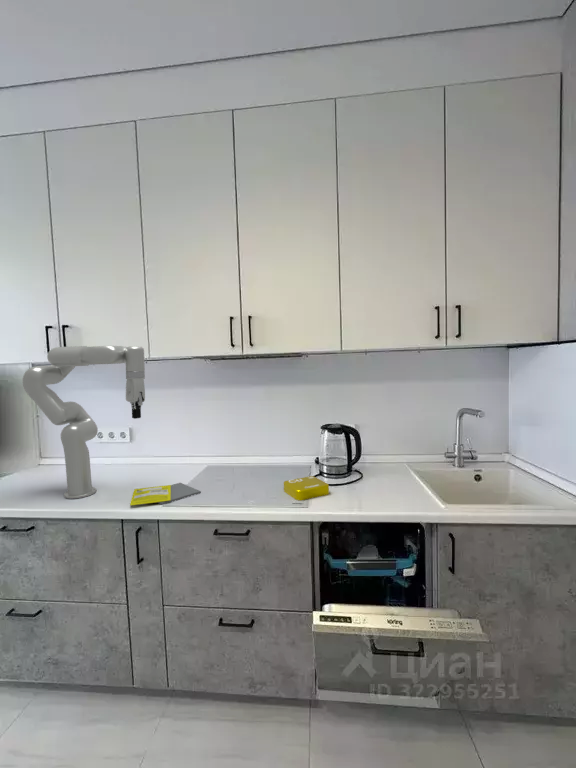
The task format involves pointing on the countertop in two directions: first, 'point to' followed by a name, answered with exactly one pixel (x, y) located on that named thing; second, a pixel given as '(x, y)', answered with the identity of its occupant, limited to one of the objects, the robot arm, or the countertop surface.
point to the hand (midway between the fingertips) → (136, 418)
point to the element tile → (306, 488)
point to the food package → (151, 495)
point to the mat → (180, 492)
